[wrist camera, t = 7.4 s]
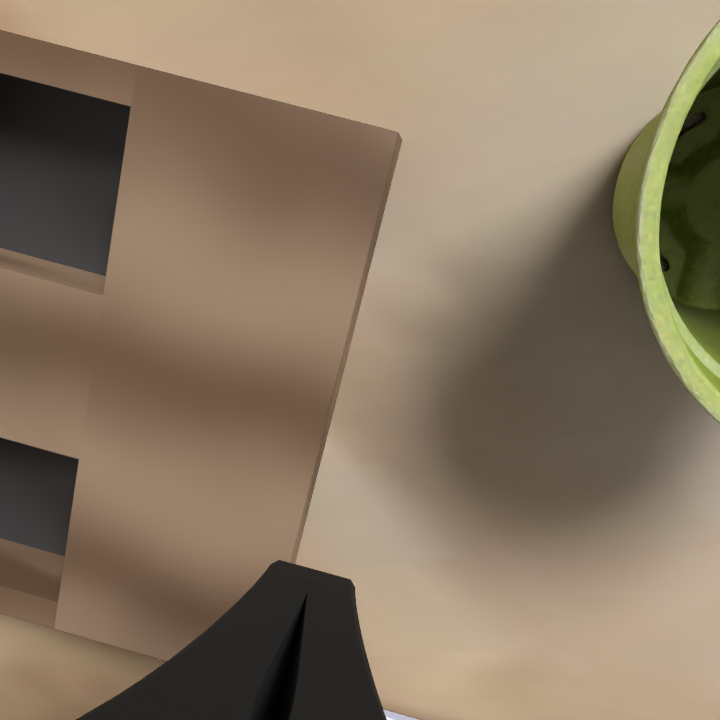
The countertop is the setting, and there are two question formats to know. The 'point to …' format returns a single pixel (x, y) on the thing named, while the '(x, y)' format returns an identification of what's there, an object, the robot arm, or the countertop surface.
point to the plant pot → (679, 225)
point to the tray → (166, 335)
